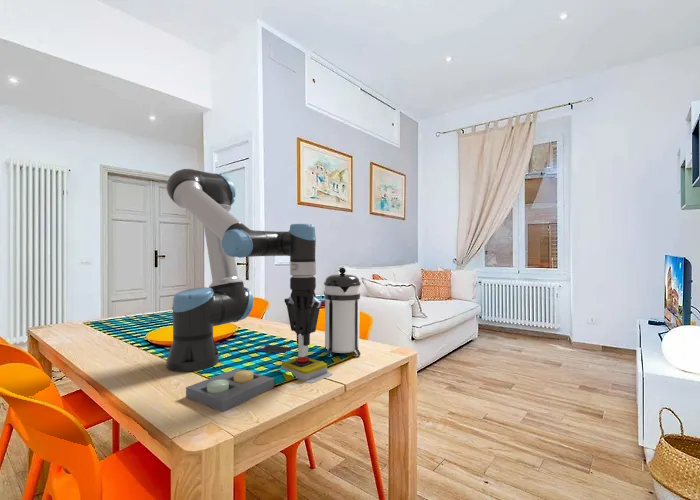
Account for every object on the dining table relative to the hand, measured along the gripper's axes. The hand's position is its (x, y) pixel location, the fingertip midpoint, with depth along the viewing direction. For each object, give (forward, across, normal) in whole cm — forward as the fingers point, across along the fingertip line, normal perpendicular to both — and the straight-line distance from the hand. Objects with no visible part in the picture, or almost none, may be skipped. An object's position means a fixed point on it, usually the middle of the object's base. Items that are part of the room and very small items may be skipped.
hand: (303, 355), depth 105 cm
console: (+5, -6, -21) cm, 22 cm away
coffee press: (+5, -2, +23) cm, 24 cm away
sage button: (+4, -6, -25) cm, 26 cm away
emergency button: (+6, 0, 0) cm, 6 cm away
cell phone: (+5, -22, +12) cm, 26 cm away
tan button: (+4, -6, -17) cm, 19 cm away
